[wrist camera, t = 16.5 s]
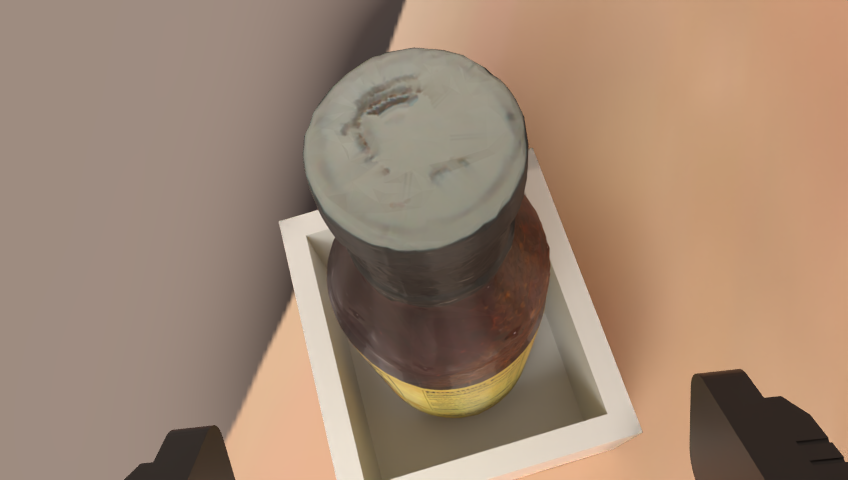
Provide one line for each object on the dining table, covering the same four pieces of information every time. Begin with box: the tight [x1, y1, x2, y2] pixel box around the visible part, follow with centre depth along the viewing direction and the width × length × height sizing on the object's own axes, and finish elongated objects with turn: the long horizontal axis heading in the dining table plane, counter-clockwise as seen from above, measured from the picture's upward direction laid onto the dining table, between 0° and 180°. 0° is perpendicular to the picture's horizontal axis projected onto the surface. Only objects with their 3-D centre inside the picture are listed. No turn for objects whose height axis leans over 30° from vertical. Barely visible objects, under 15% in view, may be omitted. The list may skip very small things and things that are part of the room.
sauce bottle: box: [303, 48, 551, 418], centre depth 22 cm, size 7×6×20 cm
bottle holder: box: [279, 148, 642, 480], centre depth 29 cm, size 10×11×6 cm
